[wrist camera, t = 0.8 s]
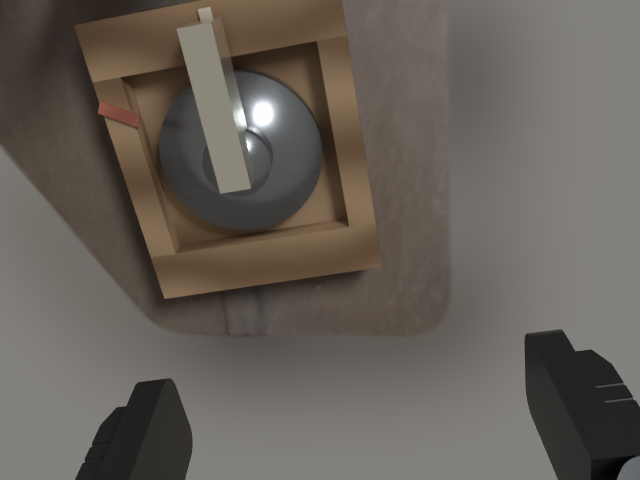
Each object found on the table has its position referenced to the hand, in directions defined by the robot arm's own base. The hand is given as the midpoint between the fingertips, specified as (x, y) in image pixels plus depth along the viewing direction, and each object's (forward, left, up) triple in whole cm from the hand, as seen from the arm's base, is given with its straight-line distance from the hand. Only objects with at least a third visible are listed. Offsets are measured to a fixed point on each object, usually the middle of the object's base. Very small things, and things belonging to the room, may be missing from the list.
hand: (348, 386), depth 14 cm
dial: (0, -6, -26) cm, 26 cm away
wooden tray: (+1, -6, -27) cm, 28 cm away
